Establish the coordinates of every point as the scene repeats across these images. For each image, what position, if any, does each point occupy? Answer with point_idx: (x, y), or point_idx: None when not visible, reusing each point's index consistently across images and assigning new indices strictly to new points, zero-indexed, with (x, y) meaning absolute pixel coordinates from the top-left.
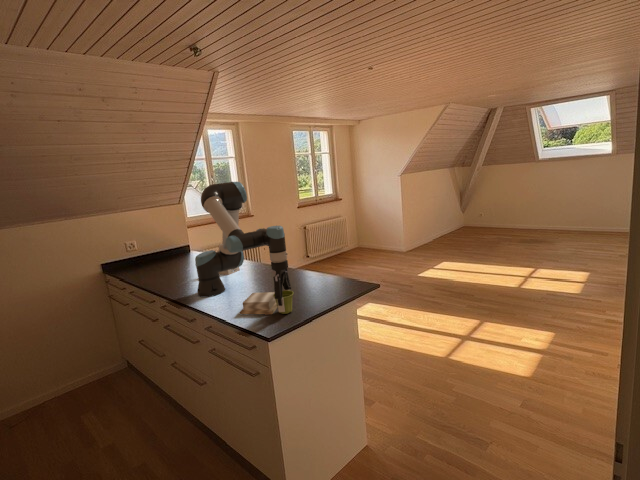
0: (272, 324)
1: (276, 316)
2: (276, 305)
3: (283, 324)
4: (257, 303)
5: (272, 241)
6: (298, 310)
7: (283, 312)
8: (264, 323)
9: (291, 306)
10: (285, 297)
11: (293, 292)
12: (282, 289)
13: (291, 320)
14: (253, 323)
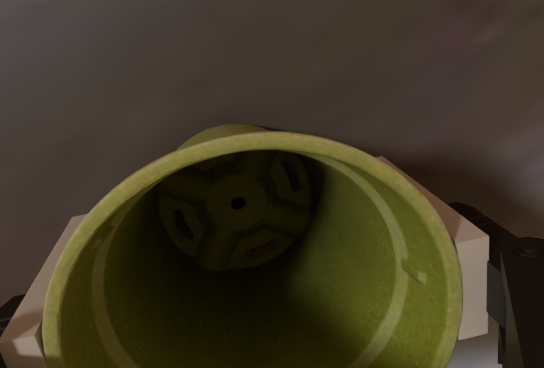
0: (527, 183)
1: None
2: None
3: (536, 68)
4: None
5: None
6: (155, 59)
7: (318, 190)
8: None
9: (241, 130)
10: (432, 209)
11: (150, 167)
12: (526, 365)
13: (444, 20)
14: (495, 355)
